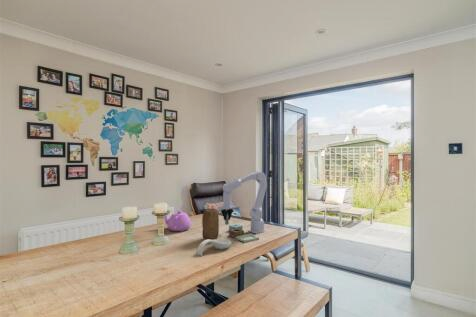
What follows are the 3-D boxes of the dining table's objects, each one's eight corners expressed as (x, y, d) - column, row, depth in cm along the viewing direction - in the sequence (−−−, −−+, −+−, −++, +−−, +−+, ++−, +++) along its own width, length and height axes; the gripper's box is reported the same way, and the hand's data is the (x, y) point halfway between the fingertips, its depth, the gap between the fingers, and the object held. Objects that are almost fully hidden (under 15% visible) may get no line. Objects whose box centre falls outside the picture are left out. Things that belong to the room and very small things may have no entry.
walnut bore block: (237, 233, 189) (237, 228, 189) (243, 236, 183) (244, 230, 183) (229, 235, 185) (229, 229, 185) (235, 238, 179) (235, 232, 179)
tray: (250, 235, 185) (250, 233, 185) (258, 239, 178) (258, 237, 178) (235, 238, 178) (235, 236, 178) (244, 242, 170) (244, 240, 170)
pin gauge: (227, 223, 191) (227, 212, 191) (229, 224, 189) (229, 213, 189) (224, 224, 190) (224, 212, 189) (226, 224, 188) (226, 213, 188)
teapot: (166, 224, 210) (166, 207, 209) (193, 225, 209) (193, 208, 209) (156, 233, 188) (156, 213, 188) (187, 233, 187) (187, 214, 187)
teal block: (235, 229, 201) (235, 223, 201) (242, 231, 196) (242, 225, 196) (228, 230, 196) (229, 225, 196) (235, 233, 191) (235, 227, 191)
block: (219, 241, 173) (220, 210, 172) (210, 243, 167) (211, 211, 167) (209, 237, 180) (209, 207, 180) (200, 239, 175) (200, 209, 175)
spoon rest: (221, 243, 169) (221, 232, 169) (235, 247, 162) (235, 236, 162) (192, 253, 151) (192, 240, 151) (206, 258, 144) (206, 245, 144)
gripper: (232, 199, 197) (232, 217, 197) (215, 200, 188) (215, 219, 188) (238, 200, 191) (237, 219, 191) (220, 202, 182) (220, 222, 182)
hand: (226, 219), depth 189 cm, fingers closed on pin gauge, 2 cm apart
